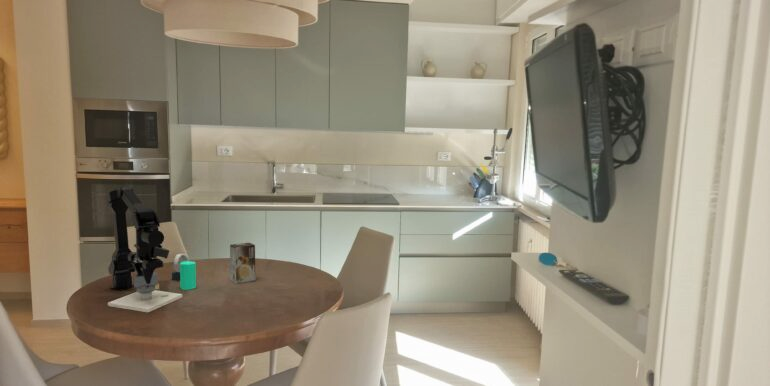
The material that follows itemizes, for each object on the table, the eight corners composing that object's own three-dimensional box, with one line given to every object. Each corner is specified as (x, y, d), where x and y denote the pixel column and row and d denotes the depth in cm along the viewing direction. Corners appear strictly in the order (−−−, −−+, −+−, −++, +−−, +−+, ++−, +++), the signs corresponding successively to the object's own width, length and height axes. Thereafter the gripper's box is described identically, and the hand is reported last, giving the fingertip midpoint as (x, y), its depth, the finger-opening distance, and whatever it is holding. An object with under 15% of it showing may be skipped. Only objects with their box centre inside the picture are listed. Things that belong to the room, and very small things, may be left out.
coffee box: (249, 277, 225) (249, 242, 223) (255, 280, 220) (255, 244, 218) (229, 280, 219) (229, 244, 217) (235, 284, 214) (235, 247, 212)
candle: (190, 290, 204) (190, 261, 203) (177, 288, 206) (176, 260, 204) (198, 286, 210) (198, 258, 209) (185, 284, 211) (185, 256, 210)
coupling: (134, 294, 185) (133, 277, 184) (133, 289, 190) (133, 273, 189) (159, 291, 189) (159, 275, 188) (158, 286, 194) (158, 271, 193)
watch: (191, 276, 223) (190, 252, 222) (182, 281, 215) (181, 256, 214) (179, 275, 224) (178, 251, 223) (169, 280, 216) (169, 255, 215)
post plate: (107, 305, 184) (107, 295, 183) (144, 291, 201) (144, 281, 200) (148, 312, 179) (147, 301, 178) (182, 297, 196) (182, 287, 195)
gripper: (176, 242, 186) (177, 283, 188) (156, 234, 199) (157, 273, 201) (145, 247, 178) (147, 289, 180) (126, 238, 191) (127, 278, 193)
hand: (145, 282), depth 189 cm, fingers closed on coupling, 5 cm apart
